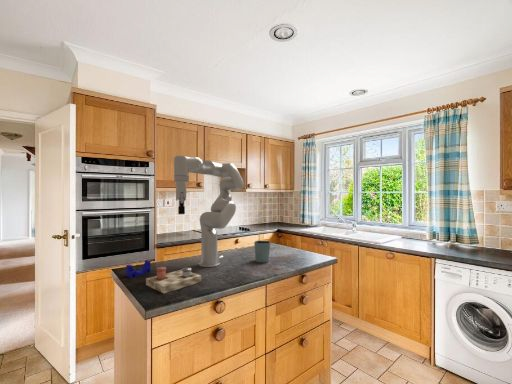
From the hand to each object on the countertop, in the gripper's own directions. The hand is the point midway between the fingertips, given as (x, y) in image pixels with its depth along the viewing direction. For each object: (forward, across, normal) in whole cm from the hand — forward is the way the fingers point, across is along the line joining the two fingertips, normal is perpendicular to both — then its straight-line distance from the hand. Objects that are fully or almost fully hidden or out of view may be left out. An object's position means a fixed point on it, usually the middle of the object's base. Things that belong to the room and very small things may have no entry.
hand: (181, 214), depth 143 cm
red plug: (+31, +13, -10) cm, 35 cm away
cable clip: (+32, -8, -21) cm, 40 cm away
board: (+32, +13, -4) cm, 35 cm away
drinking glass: (+32, -14, +50) cm, 61 cm away
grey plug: (+32, +13, +2) cm, 34 cm away
